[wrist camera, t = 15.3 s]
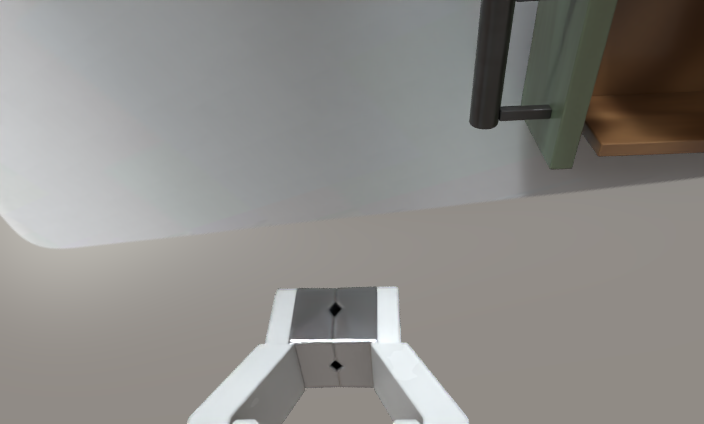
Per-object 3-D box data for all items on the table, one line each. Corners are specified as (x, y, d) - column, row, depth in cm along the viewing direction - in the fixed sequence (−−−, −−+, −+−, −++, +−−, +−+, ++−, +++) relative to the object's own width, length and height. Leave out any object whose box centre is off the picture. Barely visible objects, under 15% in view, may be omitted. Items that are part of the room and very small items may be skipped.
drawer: (454, 114, 31) (470, 173, 25) (469, -88, 24) (497, -64, 18) (737, 101, 29) (816, 160, 24) (843, -116, 22) (986, -99, 17)
